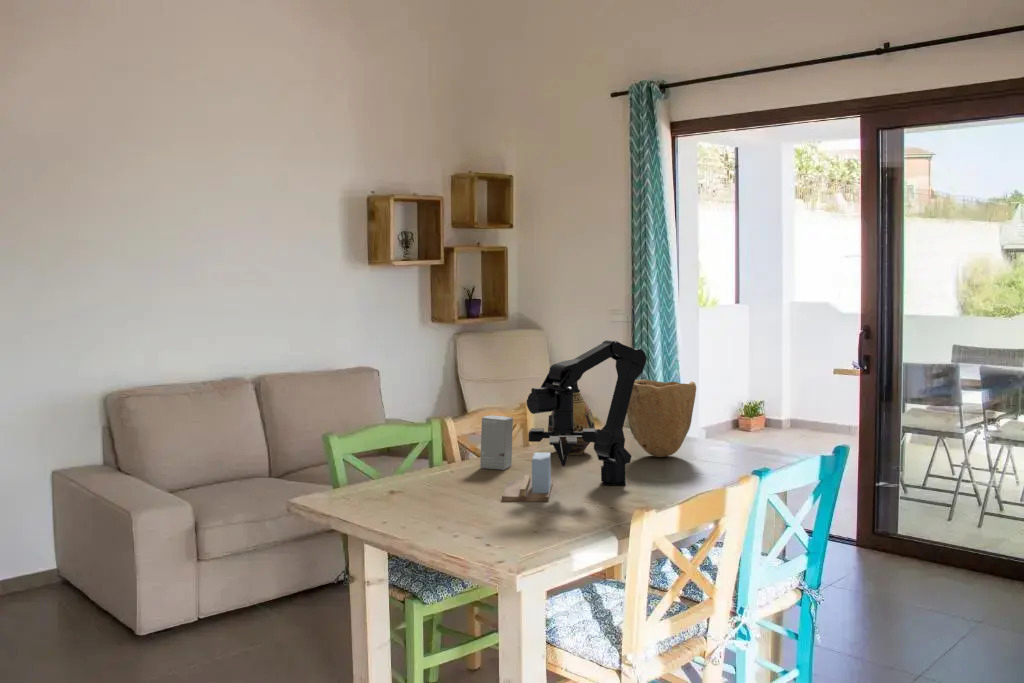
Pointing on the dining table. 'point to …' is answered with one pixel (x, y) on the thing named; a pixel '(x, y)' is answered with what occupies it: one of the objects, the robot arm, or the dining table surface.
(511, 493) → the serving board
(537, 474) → the blue block
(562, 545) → the dining table surface
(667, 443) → the brown stone pot
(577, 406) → the ceramic jug
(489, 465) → the skincare box
